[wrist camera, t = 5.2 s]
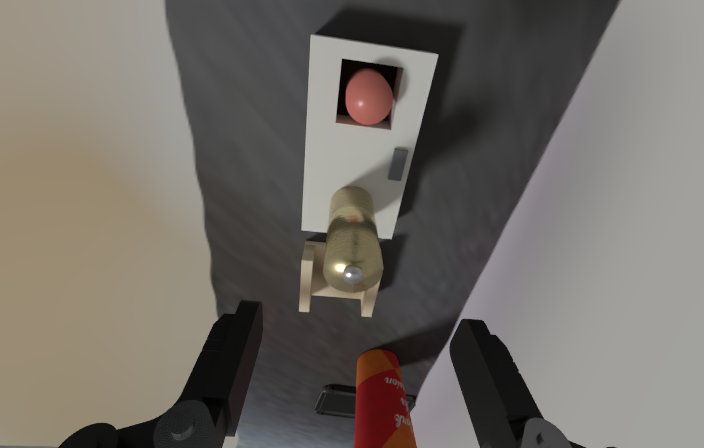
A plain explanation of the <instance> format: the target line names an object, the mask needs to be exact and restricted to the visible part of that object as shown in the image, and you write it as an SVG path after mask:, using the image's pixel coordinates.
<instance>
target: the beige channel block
mask: <svg viewBox="0 0 704 448" xmlns="http://www.w3.org/2000/svg"><path fill="white" fill-rule="evenodd" d="M325 247H326V243H325V242H314V241H305V246H304V252H303V257H302V266H301V285H300V305H299V311H300V312H309V307H310V300H311V295H318V296H330V297H342V298H354V299H361V310H362V316H364V317H371V315H372V311H373V308H374V304H375V300H376V296H377V292H378V288H379V284H380V281H379V282H378V283H377V284H376V285H375V286H374V287H372V288H370V289H368V290H366V291H363V292H358V293H347V292H342V291H339V290H337V289H335V288H333V287H332V286H331V285H329V284H328V282H327V281H326V279H325V277H324V274H323V266H324V256H325ZM380 253H381V248H380ZM381 260H382V254H381ZM382 267H383V261H382ZM380 280H381V279H380Z"/></svg>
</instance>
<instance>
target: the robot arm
mask: <svg viewBox="0 0 704 448" xmlns="http://www.w3.org/2000/svg"><path fill="white" fill-rule="evenodd" d="M262 332H263V317H262V302H259V301H246V300H241V302H240V303H239V306H238V308H237V311H236V313H235V314H225V313H224V314H223V315H222V316H221V317H220V318H219V319H218V321H216V322H215V323H214V324H213V327H212V329H211V331H210V333H209V335H208V337H207V340H206V342H205V344H204V346H203V348H202V352H201V353H200V355H199V357H198V359H197V361H196V364H195V366H194V368H193V370H192V372H191V374H190V376H189V379H188V381H187V383H186V385H185V387H184V389H183V392H182V394H181V396H180V397H179V399H178V400H177V402H176V403H175V404H174V405H173V406H172V407H171V408H170V409H168V410H167V411H166V412H165V413H164V414H162V415H160V416H159V417H157V418H155V419H153V420H150V421H147V422H143V423H140V424H136V425H133V426H129V427H125V428H122V429H118V430H116V428H115V427H114V426H112V425H110V424H107V423H96V424H92V425H89V426H86V427H84V428H82V429H80V430H78V431H77V432H75V433H73V434H72V435H71V436H70V437H68V438H67V439H66V440H65V441H64V442H63V443H62V444H61V445H60V446H59V447H58V448H222V446H223V443H224V439H225V436H233V437H234V436H235V433H236V429H237V426H238V422H239V419H240V415H241V412H242V408H243V404H244V401H245V397H246V394H247V390H248V386H249V383H250V379H251V376H252V372H253V369H254V365H255V361H256V358H257V354H258V351H259V347H260V343H261V339H262ZM450 356H451V360H452V363H453V366H454V369H455V372H456V375H457V378H458V381H459V385H460V388H461V391H462V394H463V397H464V400H465V403H466V406H467V409H468V412H469V415H470V418H471V421H472V424H473V427H474V430H475V434H476V436H477V440H478V443H479V446H480V448H586V447H583V446H581V445H578V444H576V443H573V442H571V441H569V440H567V438H566V437H565V436H564V434H563V433H562V432H561V431H560V430H559V429H558V428H557V427H556V426H555V425H553V424H551V423H550V422H548V421H547V420H545V419H544V418H543V416H542V415H541V413H540V411H539V409H538V407H537V405H536V403H535V401H534V399H533V397H532V395H531V394H530V392H529V389H528V388H527V386H526V384H525V382H524V380H523V378H522V376H521V374H520V373H519V372H518V371H519V370H518V368H517V366H516V364H515V362H513V359H512V357H511V355H510V353H509V351H508V349H507V347H506V346H505V345H504V344H503V342H502V341H501V340H500V339H499V338H498V337H497V336H496V335H491V334H490V332H489V330H488V328H487V326H486V324H485V323H484V321H482V320H473V319H462V320H461V322H460V324H459V326H458V328H457V330H456V332H455V334H454V336H453V338H452V340H451V343H450ZM607 448H615V447H607Z"/></svg>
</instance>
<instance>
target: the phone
mask: <svg viewBox="0 0 704 448" xmlns="http://www.w3.org/2000/svg"><path fill="white" fill-rule="evenodd" d="M406 399H407V404H408V408H409V413H410V411H411V410H412V409H413V408H414V406H415V399H414V398H413V397H410V396H406ZM355 410H356V388H349V387H343V386H336V385H326V386H324V387H323V388H322V391H321V393H320V395H319V397H318V399H317V401H316V403H315V407H314V412H315V413H317V414H320V415H328V416H336V417H344V418H351V419H355Z"/></svg>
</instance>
